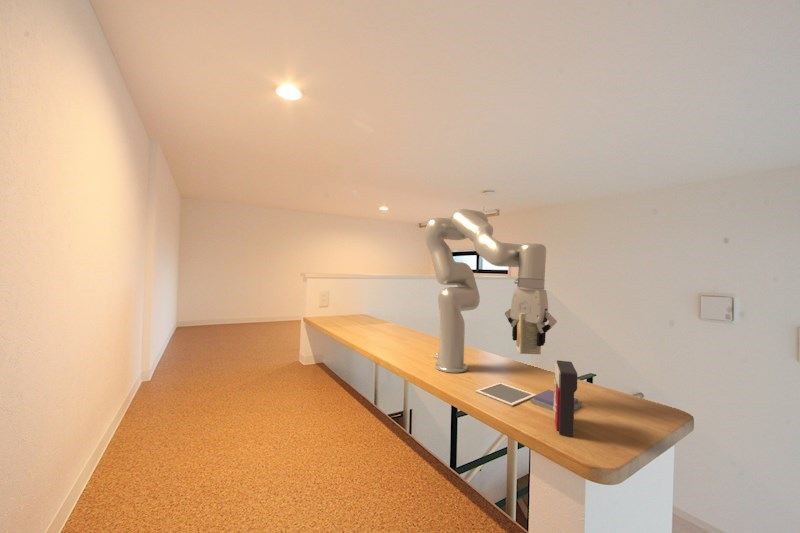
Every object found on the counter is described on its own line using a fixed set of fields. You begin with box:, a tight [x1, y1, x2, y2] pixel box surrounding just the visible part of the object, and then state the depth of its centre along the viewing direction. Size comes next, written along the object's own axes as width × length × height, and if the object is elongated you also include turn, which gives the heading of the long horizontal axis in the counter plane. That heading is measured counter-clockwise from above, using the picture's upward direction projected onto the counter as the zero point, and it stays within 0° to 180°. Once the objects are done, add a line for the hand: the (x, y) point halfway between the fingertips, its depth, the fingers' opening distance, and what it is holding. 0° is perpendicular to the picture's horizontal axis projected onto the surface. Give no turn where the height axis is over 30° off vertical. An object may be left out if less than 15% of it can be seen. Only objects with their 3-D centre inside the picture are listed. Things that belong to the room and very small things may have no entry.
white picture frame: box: [475, 382, 537, 407], centre depth 101 cm, size 13×13×1 cm
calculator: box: [553, 360, 578, 438], centre depth 81 cm, size 11×4×15 cm, turn 159°
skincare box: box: [515, 313, 542, 355], centre depth 98 cm, size 6×4×12 cm
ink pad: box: [529, 389, 582, 412], centre depth 94 cm, size 10×10×2 cm
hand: (527, 342), depth 98 cm, fingers closed on skincare box, 7 cm apart
